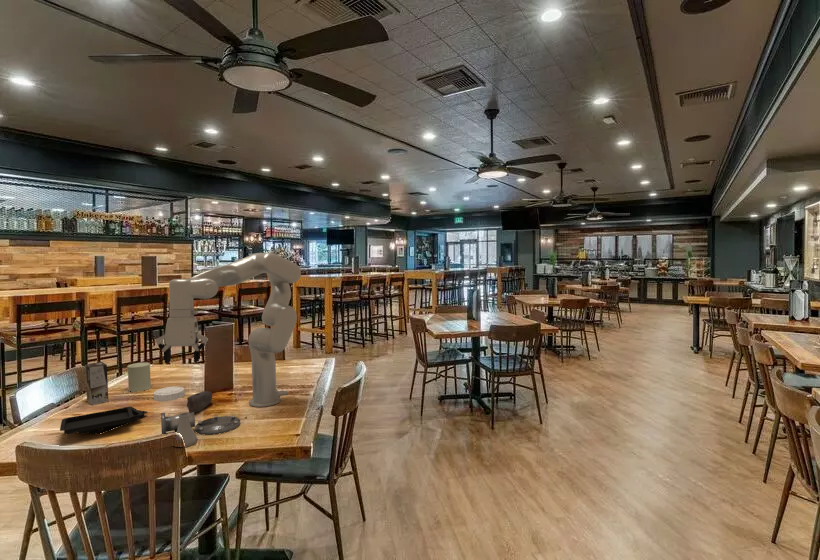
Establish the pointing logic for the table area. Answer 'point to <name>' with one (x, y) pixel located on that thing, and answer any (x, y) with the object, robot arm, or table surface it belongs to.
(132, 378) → the can
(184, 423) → the flask
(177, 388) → the mooncake
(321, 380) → the table surface
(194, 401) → the perforated stone tool
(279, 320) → the robot arm
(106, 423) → the tray
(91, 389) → the coffee box
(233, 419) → the pipe fitting
